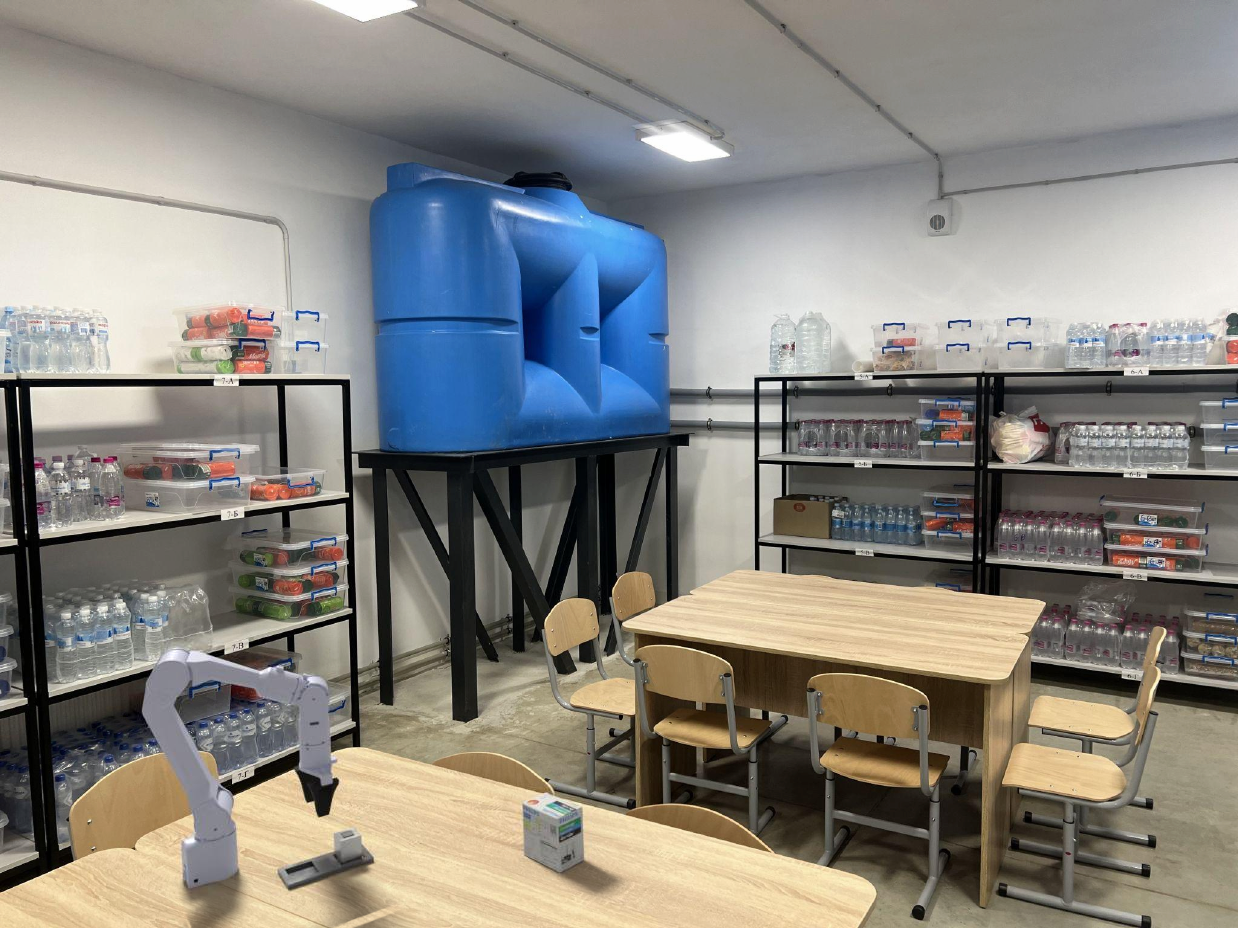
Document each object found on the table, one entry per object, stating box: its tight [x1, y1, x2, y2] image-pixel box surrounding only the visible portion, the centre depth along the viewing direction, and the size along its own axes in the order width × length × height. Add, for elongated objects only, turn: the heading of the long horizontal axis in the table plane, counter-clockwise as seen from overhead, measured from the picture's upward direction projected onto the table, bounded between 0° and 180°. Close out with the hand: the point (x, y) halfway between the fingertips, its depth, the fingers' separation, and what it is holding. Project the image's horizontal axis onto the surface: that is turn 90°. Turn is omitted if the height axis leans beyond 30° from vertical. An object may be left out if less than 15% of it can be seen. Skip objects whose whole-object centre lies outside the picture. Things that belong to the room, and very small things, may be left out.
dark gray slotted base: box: [277, 844, 375, 890], centre depth 171 cm, size 16×7×2 cm, turn 126°
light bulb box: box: [521, 792, 585, 874], centre depth 174 cm, size 11×7×11 cm, turn 47°
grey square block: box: [333, 827, 363, 865], centre depth 173 cm, size 4×4×5 cm
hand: (317, 808), depth 175 cm, fingers open, 7 cm apart
